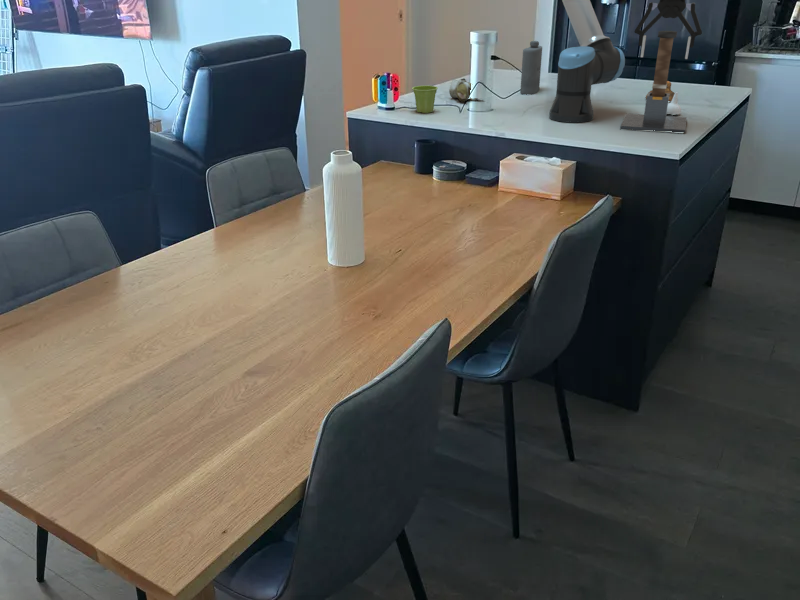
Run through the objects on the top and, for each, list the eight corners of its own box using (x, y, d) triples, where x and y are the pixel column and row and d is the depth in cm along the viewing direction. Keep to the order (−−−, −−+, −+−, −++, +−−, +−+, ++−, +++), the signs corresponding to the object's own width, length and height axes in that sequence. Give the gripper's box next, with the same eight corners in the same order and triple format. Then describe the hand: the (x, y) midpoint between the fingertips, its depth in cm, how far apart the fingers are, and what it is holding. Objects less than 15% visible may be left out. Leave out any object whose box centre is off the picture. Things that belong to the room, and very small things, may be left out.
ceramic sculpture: (464, 73, 282) (486, 81, 271) (462, 95, 287) (485, 103, 276) (442, 76, 277) (464, 84, 266) (441, 98, 282) (463, 106, 271)
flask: (532, 95, 285) (536, 43, 276) (518, 94, 287) (522, 43, 278) (542, 89, 297) (545, 39, 288) (528, 88, 299) (532, 39, 290)
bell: (677, 98, 276) (681, 79, 273) (674, 104, 266) (678, 84, 263) (647, 96, 281) (649, 77, 277) (643, 102, 271) (645, 82, 268)
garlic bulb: (658, 114, 251) (662, 91, 247) (672, 112, 253) (676, 90, 249) (670, 117, 246) (673, 94, 242) (684, 115, 248) (688, 93, 244)
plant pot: (416, 115, 254) (416, 90, 250) (409, 110, 263) (409, 86, 259) (440, 113, 257) (441, 89, 253) (433, 108, 265) (433, 84, 261)
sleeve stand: (620, 129, 230) (624, 98, 226) (625, 116, 247) (629, 87, 242) (684, 133, 224) (689, 102, 219) (685, 120, 240) (691, 91, 236)
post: (647, 101, 230) (658, 32, 220) (649, 98, 235) (659, 30, 225) (665, 103, 228) (676, 32, 219) (666, 99, 233) (677, 31, 223)
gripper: (631, -14, 217) (622, 57, 226) (718, -14, 209) (705, 60, 218) (633, -15, 223) (625, 54, 233) (718, -15, 215) (705, 57, 224)
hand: (663, 57), depth 225 cm, fingers open, 13 cm apart
